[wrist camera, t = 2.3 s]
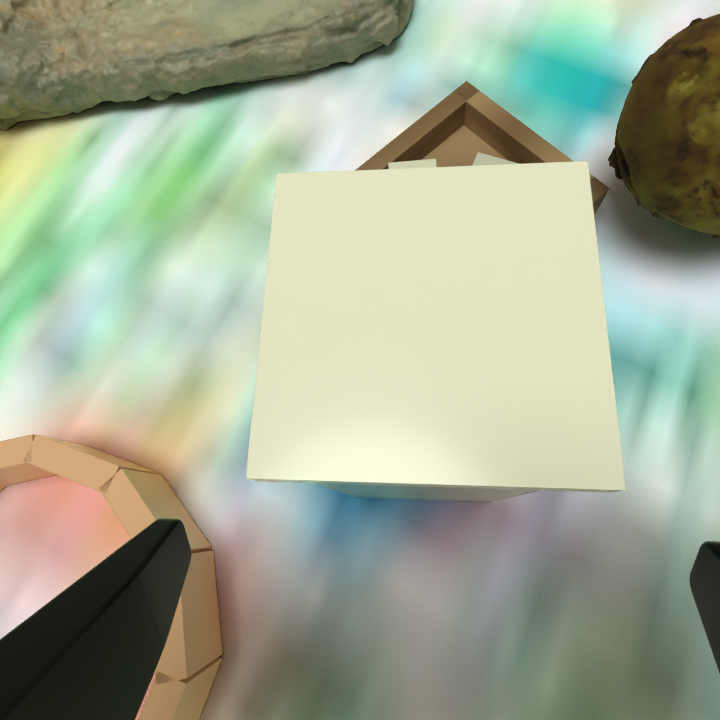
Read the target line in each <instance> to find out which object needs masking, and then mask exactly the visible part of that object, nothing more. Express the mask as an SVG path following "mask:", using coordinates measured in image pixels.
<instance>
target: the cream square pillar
mask: <svg viewBox="0 0 720 720" xmlns="http://www.w3.org/2000/svg"><path fill="white" fill-rule="evenodd" d="M246 479H250V480H255V481H267V482H299V483H315V484H318V485H321V486H324V487H327V488H330V489H333V490H336V491H339V492H342V493H345V494H348V495H351V496H354V497H357V498H385V499H414V500H443V501H471V502H491V501H496V500H500V499H504V498H509V497H513V496H518V495H522V494H527V493H531V492H535V491H540V490H551V491H583V492H616V491H624V490H626V487H625V479H624V470H623V461H622V453H621V444H620V435H619V427H618V418H617V409H616V401H615V392H614V383H613V375H612V366H611V358H610V349H609V340H608V332H607V323H606V314H605V306H604V297H603V288H602V280H601V271H600V263H599V254H598V245H597V237H596V228H595V219H594V211H593V202H592V193H591V185H590V176H589V167H588V161H577V162H553V163H528V164H504V165H480V166H455V167H431V168H407V169H382V170H358V171H334V172H309V173H285V174H277V177H276V186H275V196H274V206H273V216H272V226H271V236H270V245H269V255H268V265H267V275H266V285H265V294H264V304H263V314H262V324H261V334H260V343H259V353H258V363H257V373H256V383H255V393H254V402H253V412H252V422H251V432H250V442H249V451H248V461H247V471H246Z"/></svg>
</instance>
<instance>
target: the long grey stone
mask: <svg viewBox="0 0 720 720" xmlns="http://www.w3.org/2000/svg"><path fill="white" fill-rule="evenodd" d="M412 9H413V0H0V129H3V130H8V129H9V128H10V127H12V126H13V125H14V124H15V123H17V122H19V121H27V120H32V119H35V120H37V119H44V118H53V117H55V116H63V115H67V114H69V113H71V112H74V113H79V112H81V111H83V110H86V109H87V108H92V107H94V106H95V105H97V104H98V103H100V102H102V101H114V102H122V101H130V100H131V101H137V100H138V99H141V98H145V97H147V96H149V97H150V98H151V99H154V100H158V101H161V100H165V99H167V98H168V97H169V96H171V95H173V94H175V93H177V92H180V93H181V94H186V93H189V92H191V91H196V90H198V89H200V88H202V87H211V86H216V85H224V84H229V83H236V82H238V83H245V82H249V81H257V80H265V79H271V78H278V77H282V76H288V75H298V74H303V75H305V74H308V73H310V72H311V71H313V70H317V69H320V68H323V67H328V66H329V65H331V64H334V63H337V62H348V63H352V62H353V61H354V60H355V59H356V58H357V57H359V56H360V55H361V54H364V53H366V52H371V51H372V50H374V49H377V48H379V47H381V46H382V45H386V46H388V45H389V44H390V43H391V42H392V40H393V39H395V38H397V37H398V36H399V35H400V34H401V33H402V32H403V30H404V28H405V25H407V23H408V21H409V18H410V14H411V12H412Z"/></svg>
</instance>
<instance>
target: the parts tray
mask: <svg viewBox="0 0 720 720" xmlns="http://www.w3.org/2000/svg"><path fill="white" fill-rule="evenodd" d="M478 152H479V153H483V154H486V155H490V156H494V157H497V158H501V159H504V160H508V161H511V162H515V163H518V164H528V163H553V162H574V161H572V160H571V159H570V158H568V157H567V156H566V155H564V154H563V153H562V152H560V151H559V150H558V149H556V148H555V147H554V146H552V145H551V144H550V143H548V142H547V141H546V140H544V139H543V138H542V137H540V136H539V135H538V134H536V133H535V132H534V131H532V130H531V129H530V128H528V127H527V126H526V125H524V124H523V123H522V122H520V121H519V120H518V119H516V118H515V117H514V116H512V115H511V114H510V113H508V112H507V111H506V110H504V109H503V108H502V107H500V106H499V105H498V104H496V103H495V102H494V101H492V100H491V99H490V98H488V97H487V96H486V95H484V94H483V93H482V92H480V91H479V90H478V89H476V88H475V87H474V86H472V85H471V84H470V83H468V82H467V81H466V82H465V83H463V84H462V85H461V86H460V87H458V88H457V89H456V90H455V91H454V92H452V93H451V94H450V95H449V96H447V97H446V98H445V99H444V100H442V101H441V102H440V103H439V104H437V105H436V106H435V107H434V108H432V109H431V110H430V111H429V112H427V113H426V114H425V115H424V116H422V117H421V118H420V119H419V120H417V121H416V122H415V123H414V124H412V125H411V126H410V127H409V128H407V129H406V130H405V131H404V132H402V133H401V134H400V135H399V136H397V137H396V138H395V139H394V140H393V141H391V142H390V143H389V144H388V145H386V146H385V147H384V148H383V149H381V150H380V151H379V152H378V153H376V154H375V155H374V156H373V157H371V158H370V159H369V160H368V161H366V162H365V163H364V164H363V165H361V166H360V167H359V168H358V169H356V170H355V171H358V170H382V169H389V166H388V163H392V162H403V161H415V160H426V159H436V166H437V167H455V166H472V165H473V162H474V160H475V158H476V156H477V154H478ZM589 176H590V185H591V193H592V202H593V211H594V215H595V213H596V211H597V209H598V208H599V206H600V204H601V203H602V201H603V199H604V197H605V196H606V194H607V192H608V190H609V188H608V187H607V186H605V185H604V184H603V183H601V182H600V181H599V180H597V179H596V178H595V177H593V176H592V175H591V174H589Z"/></svg>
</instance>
